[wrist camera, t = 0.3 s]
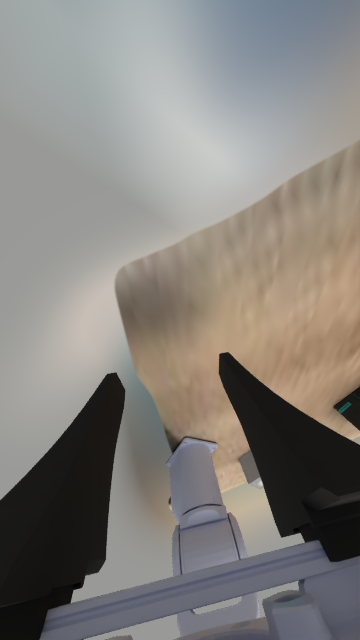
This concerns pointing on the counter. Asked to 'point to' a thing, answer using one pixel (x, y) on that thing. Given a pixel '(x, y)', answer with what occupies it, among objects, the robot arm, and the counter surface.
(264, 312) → the counter surface
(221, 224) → the counter surface
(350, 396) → the tampon box
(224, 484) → the counter surface
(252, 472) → the grey dot cube
